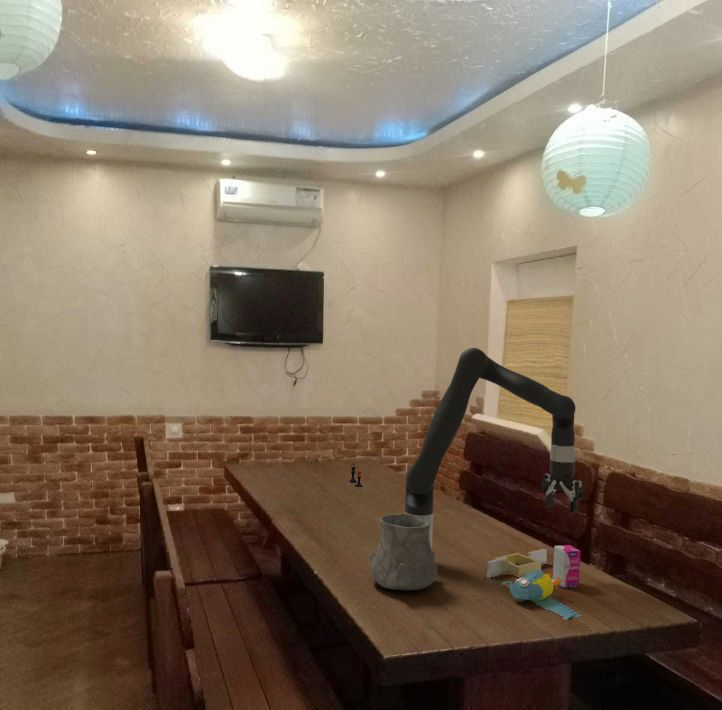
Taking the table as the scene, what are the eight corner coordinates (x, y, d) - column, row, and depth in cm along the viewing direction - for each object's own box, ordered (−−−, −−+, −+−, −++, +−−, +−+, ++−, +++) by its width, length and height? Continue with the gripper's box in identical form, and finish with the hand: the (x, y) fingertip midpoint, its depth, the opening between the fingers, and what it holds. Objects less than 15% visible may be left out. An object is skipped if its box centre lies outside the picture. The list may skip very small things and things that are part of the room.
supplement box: (562, 589, 194) (564, 551, 194) (552, 581, 200) (553, 545, 200) (579, 587, 196) (580, 550, 196) (568, 580, 202) (569, 544, 202)
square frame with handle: (500, 583, 198) (500, 567, 198) (476, 572, 206) (477, 557, 206) (557, 568, 212) (557, 553, 212) (533, 559, 221) (533, 544, 221)
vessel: (392, 566, 210) (394, 505, 209) (450, 584, 196) (452, 519, 195) (349, 584, 193) (351, 518, 192) (409, 605, 179) (412, 534, 178)
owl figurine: (592, 584, 176) (550, 594, 169) (591, 615, 176) (550, 626, 170) (523, 553, 201) (484, 560, 194) (522, 580, 201) (484, 589, 194)
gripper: (536, 456, 207) (535, 506, 207) (573, 463, 195) (572, 516, 195) (551, 454, 211) (550, 503, 211) (589, 461, 199) (588, 513, 200)
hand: (561, 510), depth 203 cm, fingers open, 8 cm apart
